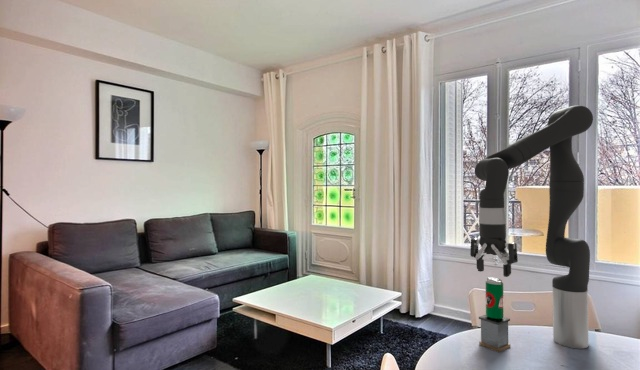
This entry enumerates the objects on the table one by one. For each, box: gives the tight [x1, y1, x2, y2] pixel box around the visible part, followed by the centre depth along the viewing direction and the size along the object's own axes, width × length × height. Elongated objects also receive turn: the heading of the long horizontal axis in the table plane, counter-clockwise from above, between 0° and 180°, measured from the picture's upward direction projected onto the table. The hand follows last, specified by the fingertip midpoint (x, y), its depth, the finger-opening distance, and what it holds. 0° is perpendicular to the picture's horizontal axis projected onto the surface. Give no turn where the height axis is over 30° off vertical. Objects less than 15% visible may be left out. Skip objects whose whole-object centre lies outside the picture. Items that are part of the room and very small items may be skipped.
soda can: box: [485, 277, 505, 320], centre depth 113 cm, size 5×5×12 cm
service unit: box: [478, 314, 511, 353], centre depth 113 cm, size 6×6×9 cm
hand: (493, 273), depth 113 cm, fingers open, 8 cm apart
